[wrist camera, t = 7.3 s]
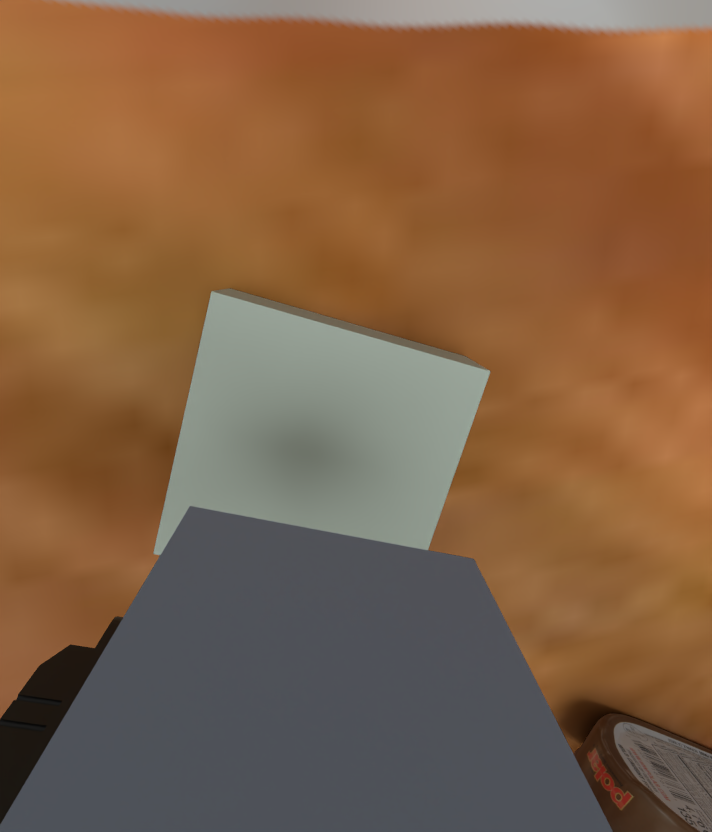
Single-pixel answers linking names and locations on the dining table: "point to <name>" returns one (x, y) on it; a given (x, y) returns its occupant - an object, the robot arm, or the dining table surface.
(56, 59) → the dining table surface
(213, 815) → the slate block
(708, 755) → the tin
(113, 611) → the dining table surface
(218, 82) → the dining table surface
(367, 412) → the sage tile
